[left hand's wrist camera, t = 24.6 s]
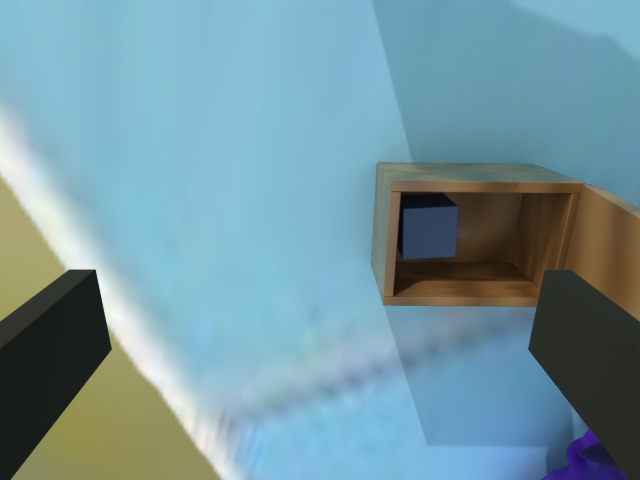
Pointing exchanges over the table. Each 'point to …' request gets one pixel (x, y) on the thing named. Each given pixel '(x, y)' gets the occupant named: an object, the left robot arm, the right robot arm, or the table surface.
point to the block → (427, 226)
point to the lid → (607, 247)
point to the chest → (476, 233)
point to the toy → (588, 462)
